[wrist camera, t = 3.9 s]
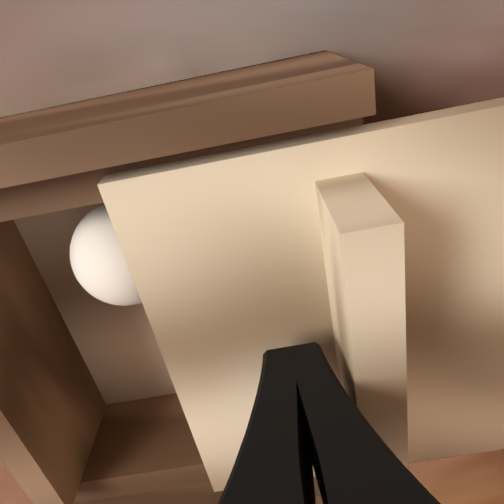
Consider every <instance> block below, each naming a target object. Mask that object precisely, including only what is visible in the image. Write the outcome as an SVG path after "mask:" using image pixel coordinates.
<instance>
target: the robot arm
mask: <svg viewBox="0 0 504 504" xmlns="http://www.w3.org/2000/svg"><path fill="white" fill-rule="evenodd" d="M313 468H314V472H315V476H316V480H317V484H318V487H319V491H320V495H321V499H322V502H323V504H440V503H439V502H438V501H437V500H436V499H435V498H434V497H433V496H432V495H431V494H430V492H429V491H428V490H427V489H426V488H425V487H424V486H423V485H422V484H421V483H420V482H419V481H418V480H417V479H416V478H415V477H414V476H413V474H412V473H411V472H410V471H409V470H408V469H407V468H406V467H405V466H404V465H403V463H402V462H401V461H400V460H399V459H398V458H397V457H396V455H395V454H394V453H393V452H392V451H391V450H390V448H389V447H388V446H387V445H386V444H385V442H384V441H383V440H382V439H381V437H380V436H379V435H378V434H377V433H376V431H375V430H374V429H373V428H372V426H371V425H370V424H369V422H368V421H367V420H366V419H365V417H364V416H363V415H362V413H361V412H360V410H359V409H358V408H357V406H356V405H355V403H354V402H353V401H352V399H351V398H350V396H349V395H348V394H347V392H346V391H345V389H344V388H343V386H342V385H341V383H340V381H339V380H338V378H337V377H336V375H335V373H334V372H333V370H332V368H331V367H330V365H329V363H328V361H327V359H326V357H325V355H324V353H323V351H322V349H321V346H320V345H319V344H318V343H316V342H312V343H306V344H300V345H294V346H288V347H282V348H276V349H270V350H267V351H266V352H265V353H264V354H263V362H262V369H261V375H260V380H259V385H258V389H257V393H256V398H255V401H254V405H253V408H252V412H251V415H250V419H249V422H248V426H247V429H246V432H245V435H244V438H243V441H242V443H241V446H240V449H239V452H238V455H237V458H236V460H235V463H234V466H233V469H232V471H231V474H230V476H229V479H228V481H227V484H226V486H225V488H224V491H223V493H222V495H221V498H220V500H219V502H218V504H316V499H315V487H314V476H313Z"/></svg>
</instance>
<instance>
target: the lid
mask: <svg viewBox="0 0 504 504" xmlns="http://www.w3.org/2000/svg"><path fill="white" fill-rule="evenodd" d="M97 186H98V189H99V191H100V194H101V196H102V199H103V202H104V204H105V207H106V210H107V212H108V215H109V217H110V220H111V223H112V225H113V228H114V231H115V233H116V236H117V238H118V241H119V244H120V246H121V249H122V251H123V254H124V257H125V259H126V262H127V265H128V267H129V270H130V272H131V275H132V278H133V280H134V283H135V286H136V288H137V291H138V293H139V296H140V299H141V301H142V304H143V307H144V309H145V312H146V314H147V317H148V320H149V322H150V325H151V327H152V330H153V333H154V335H155V338H156V341H157V343H158V346H159V348H160V351H161V354H162V356H163V359H164V362H165V364H166V367H167V369H168V372H169V375H170V377H171V380H172V383H173V385H174V388H175V390H176V393H177V396H178V398H179V401H180V404H181V406H182V409H183V411H184V414H185V417H186V419H187V422H188V424H189V427H190V430H191V432H192V435H193V438H194V440H195V443H196V445H197V448H198V451H199V453H200V456H201V459H202V461H203V464H204V466H205V469H206V472H207V474H208V477H209V480H210V482H211V485H212V487H213V490H214V492H217V491H224V488H225V486H226V484H227V481H228V479H229V476H230V474H231V471H232V469H233V466H234V463H235V460H236V458H237V455H238V452H239V449H240V446H241V443H242V441H243V438H244V435H245V432H246V429H247V426H248V422H249V419H250V415H251V412H252V408H253V405H254V401H255V398H256V393H257V389H258V385H259V380H260V375H261V369H262V362H263V354H264V353H265V352H266V351H267V350H270V349H276V348H282V347H288V346H294V345H300V344H306V343H312V342H316V343H318V344H319V345H320V346H321V349H322V351H323V353H324V355H325V357H326V359H327V361H328V363H329V365H330V367H331V368H332V370H333V372H334V373H335V375H336V377H337V378H338V380H339V381H340V383H341V385H342V386H343V388H344V389H345V391H346V392H347V394H348V395H349V396H350V398H351V399H352V401H353V402H354V403H355V405H356V406H357V408H358V409H359V410H360V412H361V413H362V415H363V416H364V417H365V419H366V420H367V421H368V422H369V424H370V425H371V426H372V428H373V429H374V430H375V431H376V433H377V434H378V435H379V436H380V437H381V439H382V440H383V441H384V442H385V444H386V445H387V446H388V447H389V448H390V450H391V451H392V452H393V453H394V454H395V455H396V457H397V458H398V459H399V460H400V461H401V462H402V463H403V465H404V466H405V467H406V468H407V469H408V463H413V462H420V461H427V460H434V459H440V458H447V457H454V456H461V455H467V454H474V453H481V452H488V451H494V450H501V449H504V97H502V98H497V99H492V100H487V101H482V102H477V103H472V104H467V105H462V106H456V107H451V108H446V109H441V110H436V111H431V112H426V113H421V114H416V115H410V116H405V117H400V118H395V119H390V120H385V121H380V122H375V123H370V124H364V125H359V126H354V127H349V128H344V129H339V130H334V131H329V132H324V133H319V134H313V135H308V136H303V137H298V138H293V139H288V140H283V141H278V142H273V143H267V144H262V145H257V146H252V147H247V148H242V149H237V150H232V151H227V152H222V153H216V154H211V155H206V156H201V157H196V158H191V159H186V160H181V161H176V162H170V163H165V164H160V165H155V166H150V167H145V168H140V169H135V170H130V171H124V172H119V173H114V174H109V175H105V176H104V177H103V178H102V179H101V181H100V182H99V183H98V184H97ZM313 476H314V477H316V476H315V472H314V468H313Z"/></svg>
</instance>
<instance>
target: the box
mask: <svg viewBox="0 0 504 504" xmlns="http://www.w3.org/2000/svg"><path fill="white" fill-rule="evenodd" d="M372 115H376V101H375V79H374V68H371V67H368V66H366V65H363V64H360V63H358V62H355V61H352V60H349V59H347V58H344V57H341V56H339V55H336V54H333V53H331V52H328V51H320V52H315V53H310V54H305V55H301V56H296V57H291V58H286V59H281V60H276V61H272V62H267V63H262V64H257V65H252V66H247V67H243V68H238V69H233V70H228V71H223V72H219V73H214V74H209V75H204V76H199V77H194V78H190V79H185V80H180V81H175V82H170V83H165V84H161V85H156V86H151V87H146V88H141V89H136V90H132V91H127V92H122V93H117V94H112V95H108V96H103V97H98V98H93V99H88V100H83V101H79V102H74V103H69V104H64V105H59V106H54V107H50V108H45V109H40V110H35V111H30V112H26V113H21V114H16V115H11V116H6V117H1V118H0V460H1V461H2V462H3V464H4V465H5V466H6V468H7V469H8V470H9V472H10V473H11V475H12V476H13V477H14V479H15V480H16V481H17V483H18V484H19V485H20V487H21V488H22V489H23V491H24V492H25V494H26V495H27V496H28V498H29V499H30V500H31V502H32V503H33V504H218V502H219V500H220V498H221V495H222V493H223V491H217V492H214V490H213V487H212V485H211V482H210V480H209V477H208V474H207V472H206V469H205V466H204V464H203V461H202V459H201V456H200V453H199V451H198V448H197V445H196V443H195V440H194V438H193V435H192V432H191V430H190V427H189V424H188V422H187V419H186V417H185V414H184V411H183V409H182V406H181V404H180V401H179V398H178V396H177V393H176V390H175V388H174V385H173V383H172V380H171V377H170V375H169V372H168V369H167V367H166V364H165V362H164V359H163V356H162V354H161V351H160V348H159V346H158V343H157V341H156V338H155V335H154V333H153V330H152V327H151V325H150V322H149V320H148V317H147V314H146V312H145V309H144V307H143V304H142V303H140V304H136V305H128V306H120V305H113V304H109V303H106V302H103V301H101V300H99V299H97V298H95V297H94V296H92V295H91V294H89V293H88V292H87V291H86V290H85V289H84V288H83V287H82V286H81V284H80V283H79V282H78V280H77V279H76V277H75V275H74V272H73V270H72V267H71V263H70V244H71V240H72V236H73V233H74V231H75V229H76V227H77V226H78V224H79V223H80V221H81V220H82V219H83V218H84V217H85V216H86V215H87V214H88V213H89V212H91V211H92V210H93V209H95V208H97V207H99V206H101V205H103V204H104V202H103V199H102V196H101V194H100V191H99V189H98V186H97V184H98V183H99V182H100V181H101V179H102V178H103V177H104V176H105V175H109V174H114V173H119V172H124V171H130V170H135V169H140V168H145V167H150V166H155V165H160V164H165V163H170V162H176V161H181V160H186V159H191V158H196V157H201V156H206V155H211V154H216V153H222V152H227V151H232V150H237V149H242V148H247V147H252V146H257V145H262V144H267V143H273V142H278V141H283V140H288V139H293V138H298V137H303V136H308V135H313V134H319V133H324V132H329V131H334V130H339V129H344V128H349V127H354V126H359V125H363V117H367V116H372ZM314 487H315V499H316V504H323V502H322V499H321V495H320V491H319V487H318V484H317V480H316V477H314Z"/></svg>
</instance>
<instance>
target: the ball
mask: <svg viewBox="0 0 504 504" xmlns="http://www.w3.org/2000/svg"><path fill="white" fill-rule="evenodd" d="M70 263H71V267H72V270H73V272H74V275H75V277H76V279H77V280H78V282H79V283H80V284H81V286H82V287H83V288H84V289H85V290H86V291H87V292H88V293H89V294H91V295H92V296H94V297H95V298H97V299H99V300H101V301H103V302H106V303H109V304H113V305H120V306H128V305H136V304H140V303H142V301H141V299H140V296H139V293H138V291H137V288H136V286H135V283H134V280H133V278H132V275H131V272H130V270H129V267H128V265H127V262H126V259H125V257H124V254H123V251H122V249H121V246H120V244H119V241H118V238H117V236H116V233H115V231H114V228H113V225H112V223H111V220H110V217H109V215H108V212H107V210H106V207H105V204H103V205H101V206H99V207H97V208H95V209H93V210H92V211H91V212H89V213H88V214H87V215H86V216H85V217H84V218H83V219H82V220H81V221H80V223H79V224H78V226H77V227H76V229H75V231H74V233H73V236H72V240H71V244H70Z"/></svg>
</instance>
